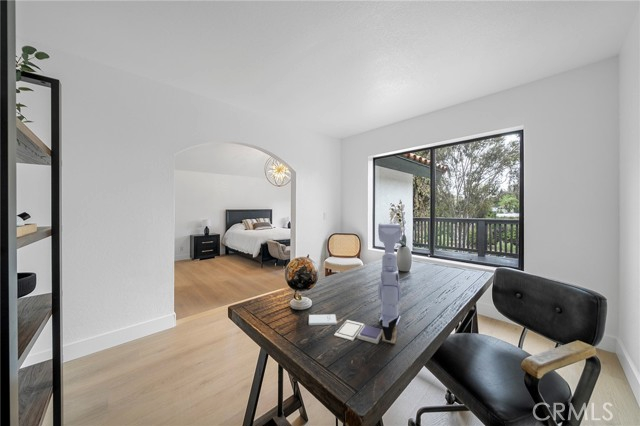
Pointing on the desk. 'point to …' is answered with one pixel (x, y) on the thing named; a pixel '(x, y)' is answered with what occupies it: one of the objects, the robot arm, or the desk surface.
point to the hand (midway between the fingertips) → (389, 336)
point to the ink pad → (370, 334)
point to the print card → (349, 330)
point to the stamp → (394, 336)
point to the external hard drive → (322, 319)
